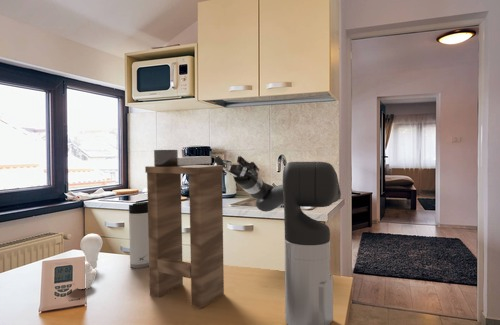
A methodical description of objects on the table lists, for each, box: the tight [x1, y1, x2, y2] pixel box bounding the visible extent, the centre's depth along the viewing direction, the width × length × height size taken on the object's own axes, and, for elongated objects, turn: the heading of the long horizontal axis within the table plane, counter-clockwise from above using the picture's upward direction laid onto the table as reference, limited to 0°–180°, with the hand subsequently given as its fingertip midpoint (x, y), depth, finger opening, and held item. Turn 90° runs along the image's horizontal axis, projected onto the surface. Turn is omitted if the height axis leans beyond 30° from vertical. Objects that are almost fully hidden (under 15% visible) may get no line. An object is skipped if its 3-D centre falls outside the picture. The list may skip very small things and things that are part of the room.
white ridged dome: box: [84, 261, 97, 290], centre depth 91 cm, size 6×6×7 cm
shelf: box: [144, 164, 225, 310], centre depth 86 cm, size 16×10×32 cm, turn 61°
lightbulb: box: [79, 233, 104, 270], centre depth 105 cm, size 6×6×11 cm
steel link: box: [153, 149, 212, 167], centre depth 92 cm, size 6×20×4 cm, turn 151°
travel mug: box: [128, 201, 149, 269], centre depth 109 cm, size 6×7×20 cm
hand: (227, 158), depth 112 cm, fingers open, 8 cm apart
